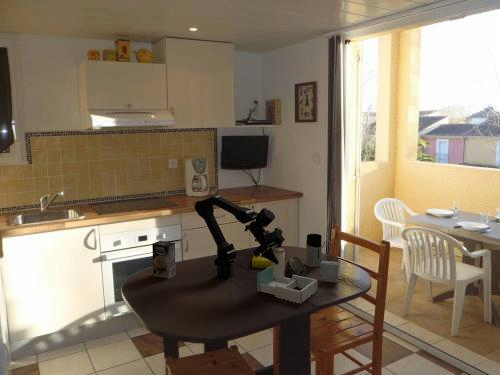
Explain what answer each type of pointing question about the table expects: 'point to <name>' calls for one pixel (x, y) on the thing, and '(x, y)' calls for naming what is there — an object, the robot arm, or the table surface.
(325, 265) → the medicine box
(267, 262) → the yellow box
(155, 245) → the coffee box
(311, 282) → the dock housing
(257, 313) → the table surface
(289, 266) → the fossil
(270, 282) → the white and teal drawer
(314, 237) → the glass holder
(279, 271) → the salt jar
